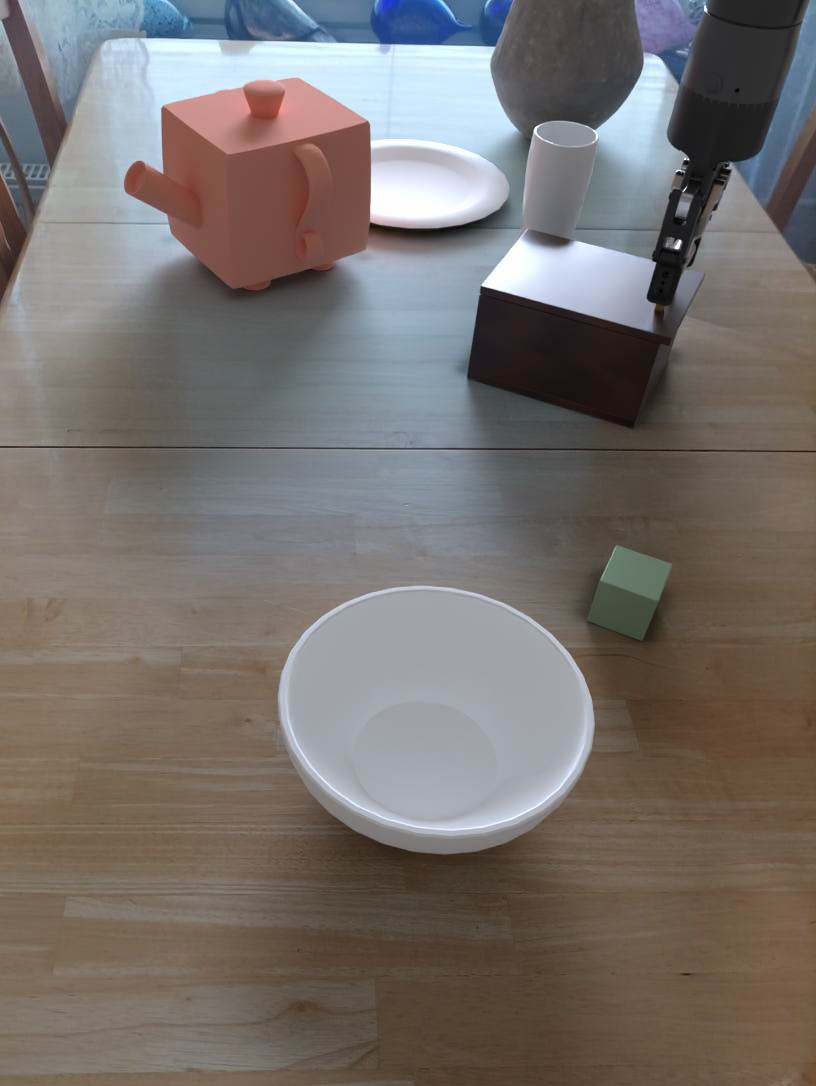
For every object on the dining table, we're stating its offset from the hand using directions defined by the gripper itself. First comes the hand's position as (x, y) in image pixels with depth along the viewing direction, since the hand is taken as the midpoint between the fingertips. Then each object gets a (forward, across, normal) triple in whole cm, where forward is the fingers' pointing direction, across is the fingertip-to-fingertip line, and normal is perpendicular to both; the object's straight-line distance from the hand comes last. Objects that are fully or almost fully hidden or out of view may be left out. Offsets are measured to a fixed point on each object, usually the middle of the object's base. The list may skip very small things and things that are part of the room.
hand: (669, 282), depth 86 cm
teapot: (+12, +2, +46) cm, 47 cm away
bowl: (+11, -50, +1) cm, 51 cm away
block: (+11, -30, -7) cm, 33 cm away
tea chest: (+11, 0, +7) cm, 13 cm away
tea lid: (+2, 0, +7) cm, 7 cm away
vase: (+11, +55, +27) cm, 62 cm away
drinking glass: (+11, +17, +16) cm, 26 cm away
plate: (+11, +28, +37) cm, 48 cm away
